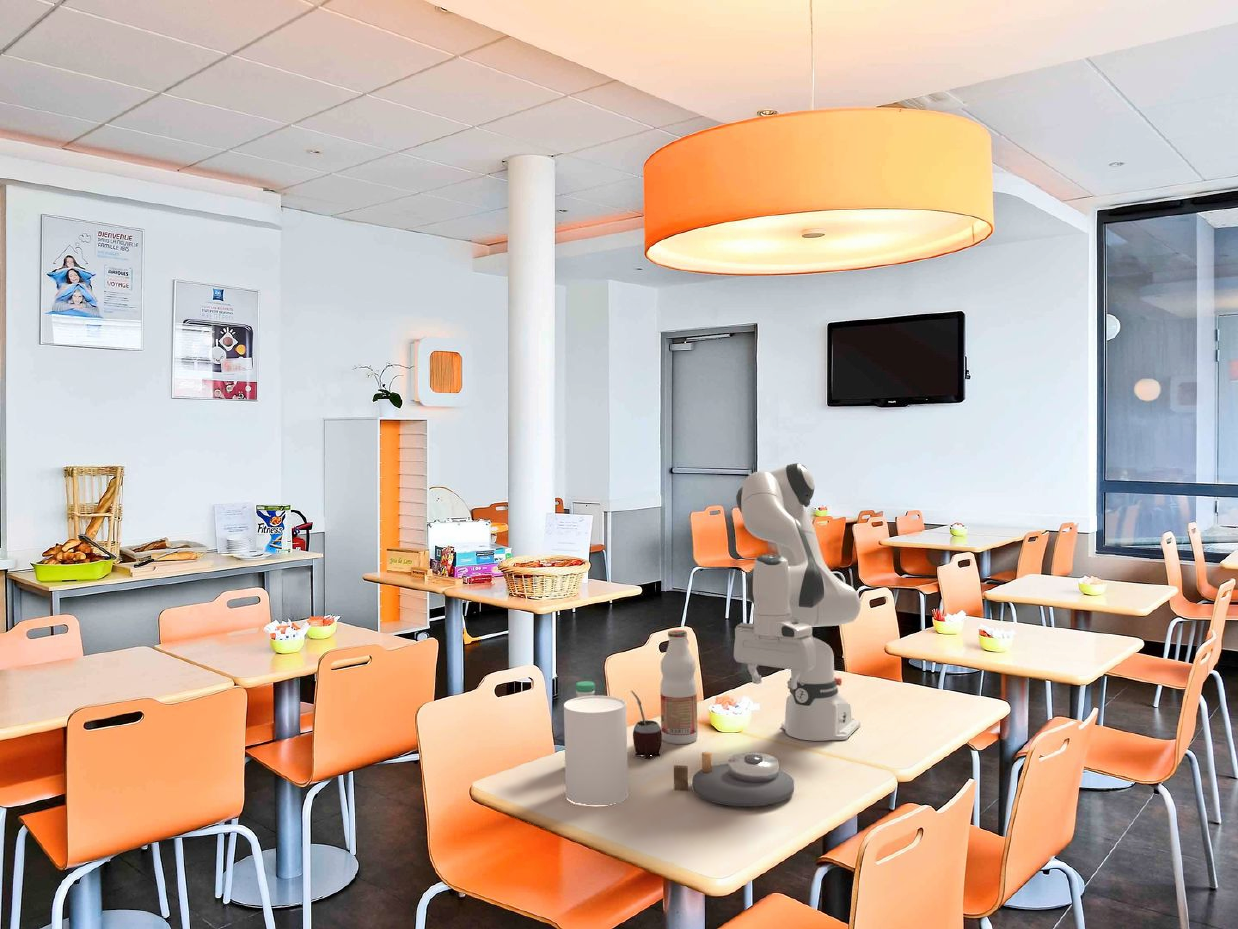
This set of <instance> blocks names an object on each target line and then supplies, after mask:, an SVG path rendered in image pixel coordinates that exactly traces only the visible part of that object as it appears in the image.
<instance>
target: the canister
mask: <svg viewBox="0 0 1238 929" xmlns="http://www.w3.org/2000/svg"><path fill="white" fill-rule="evenodd" d="M563 720H564V721H563V726H564V765H565V766H564V767H565V768H564V769H565V771H564V773H565V798H566V797H567V798H568V799H569V800H571V801H573V802H575V803H581V804H586V805H610V804H614V803H618V804H619V803H622V802H624V801H625V800H626V799H627V798H628V797H629V796H628V795H629V789H628V788H629V785H628V779H629V778H628V738H627V737H628V734H627V732H628V730H627V702H626V700H624V699H623V698H620V697H616V696H612V695H611V696H610V695H594V696H584V697H578V698H576V697H575V698H571V699H568V700H567V701H565V702H564V703H563ZM626 797H627V798H626ZM623 800H624V801H623ZM614 805H615V804H614ZM610 806H611V805H610Z"/></svg>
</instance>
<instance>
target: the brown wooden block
mask: <svg viewBox="0 0 1238 929" xmlns="http://www.w3.org/2000/svg"><path fill="white" fill-rule="evenodd" d="M688 789H689V765H683V764H682V765H679V764H677V765H676V764H675V765H673V791H679V792H680V791H681V792H683V791H684V792H688V791H689V790H688Z"/></svg>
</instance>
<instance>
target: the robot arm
mask: <svg viewBox="0 0 1238 929" xmlns="http://www.w3.org/2000/svg"><path fill="white" fill-rule="evenodd" d="M814 493H815V484H814V479H813V475H812V474H811V472H810V471H809V469H808V468H807V467H806V466H805V465H804V464H802V463H799V462H798V463H790V464H787V465H786V466H785V467H781V468H778V469H775V470H772V471H770V472H767V471H762V470H761V471H755V472H752V473H751V474H749V475H748V476H746V478H745V479H744V482H743V486H742V487H740V488H739V489H738V491H737V493H736V496H735V502H736V505H737V507H738V509H739V511H740V513H741V518H742V521H743V522H742V523H743V525H744V528H745V529H746V530H747V532H748V533H749V534H751V536H752V537H755V538H756V539H758V540H762V541H765V542H771V543H775V544H776V548H777V553H778V554H775V553H767V554H763V555H759V556H757V557H755V559H754V564H753V568H752V569H751V570H749V571H748V572H747V574H746V575H745V580H746V597H745V599H747V600H748V601H749V602H751V604H753V605H754V607H753V610H752V612H753V614H752V616H753V623H746V622H740V623H739V624H737V625H736V627H735V628H734V637H735V638H734V646H733V658H734V660H735V662H736V663H741V664H747V670H748V671H749V674H750V676H751V681H752V684H755V685H759V684H762V675H761V674H759V672H758V671H757V668H758V666H764V667H771V668H776V669H777V668H779V669H786V670H790V678H789V680H787V681H786V682H787V689H788V690H789V693H790V695H788V696H787V697H786V700H785V714H784V715H785V716H784V722H783V721H782V722H781V725H780V728H781V729H784V730H785V734H787V735H788V736H790V737H792V738H795V739H798V740H799V739H800V740H803V741H804V740H805V741H812V742H813V741H814V742H815V741H817V742H819V741H824V742H825V741H834V740H835V741H845V740H847V738H848V737H849V736H852V735H853V734H852V733H853V732H854V731H855V730H856V729H857V728H858V729H859V728H860V727H861V725H860V724H861V721H860V720H857V719H856V718H853V717H852V709H851V708H852V706H851V704H850V703H849V701H847V699H845V698H844V697H843V696H842V695H841V694H840V693H839V688H838V686H840V687H841V685H842V683H843V679H842V677H835V664H834V663H835V661H834V660H835V659H834V658H835V656H834V655H835V654H834V652H833V649H832V648H831V646H830V644H827V643H826V642H824V641H822V640H821V639H819V638H817V637H814V636H813V628H814V627H815V628H816V627H833V626H834V627H835V626H841V625H846V624H849V623H853V622H854V621H855V620H856V619H857V618H858V617H859V614H860V611H861V607H862V606H861V599H860V596H859V594H858V592H857V591H856V590H855V588H854V587H853V586H851V585H849V584H847V583H845V582H844V581H842V580H841V579H840V578H838V577H837V576H836V575H835V574H834V573H833V572H832V571H831V570H830V568H829V567H828V565H827V564H826V562H825V559H824V557H823V555H822V551H821V548H820V544H819V540H818V538H817V537H818V536H817V533H816V529H815V526H814V524H813V520H812V519H811V516H810V514H809V513H808V511H807V510H806V509H805V508H808V507H809V506H810V505H811V499H812V498H813V496H814ZM856 731H857V730H856ZM856 731H855V732H856ZM855 732H854V733H855ZM851 734H852V735H851ZM849 738H850V737H849ZM849 738H848V739H849Z"/></svg>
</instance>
